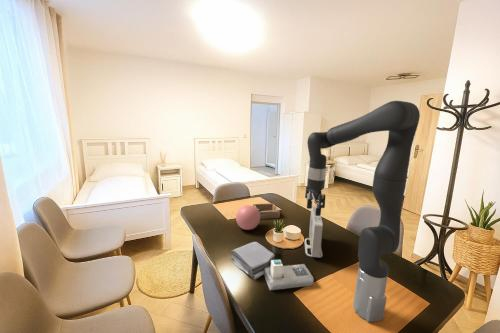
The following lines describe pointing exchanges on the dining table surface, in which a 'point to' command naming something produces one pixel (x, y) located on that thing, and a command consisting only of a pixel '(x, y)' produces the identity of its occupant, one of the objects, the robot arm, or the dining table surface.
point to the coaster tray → (268, 214)
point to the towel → (252, 259)
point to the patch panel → (289, 277)
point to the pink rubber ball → (248, 217)
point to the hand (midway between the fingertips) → (313, 211)
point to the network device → (314, 235)
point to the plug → (276, 269)
